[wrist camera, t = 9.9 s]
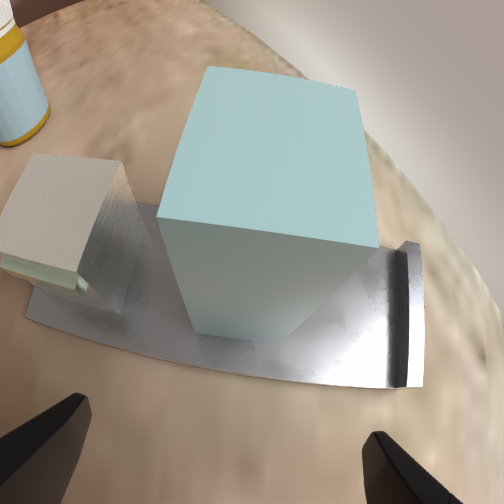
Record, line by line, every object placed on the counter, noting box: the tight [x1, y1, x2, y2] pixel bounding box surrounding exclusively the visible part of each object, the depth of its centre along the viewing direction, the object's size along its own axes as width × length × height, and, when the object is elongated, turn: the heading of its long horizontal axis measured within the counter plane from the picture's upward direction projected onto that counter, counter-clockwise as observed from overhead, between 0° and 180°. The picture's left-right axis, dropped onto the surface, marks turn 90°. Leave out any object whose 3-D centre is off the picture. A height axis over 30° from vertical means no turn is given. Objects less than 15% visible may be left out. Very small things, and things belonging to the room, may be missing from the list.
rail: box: [0, 154, 424, 390], centre depth 17 cm, size 26×10×8 cm, turn 81°
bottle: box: [0, 0, 50, 146], centre depth 19 cm, size 7×7×15 cm
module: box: [157, 66, 379, 343], centre depth 14 cm, size 6×5×13 cm
